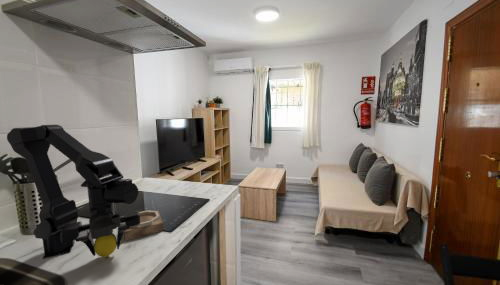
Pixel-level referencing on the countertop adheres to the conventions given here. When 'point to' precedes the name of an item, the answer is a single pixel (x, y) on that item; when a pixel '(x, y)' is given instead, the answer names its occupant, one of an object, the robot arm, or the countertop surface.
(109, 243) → the lemon
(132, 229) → the wooden bowl
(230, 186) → the countertop surface
